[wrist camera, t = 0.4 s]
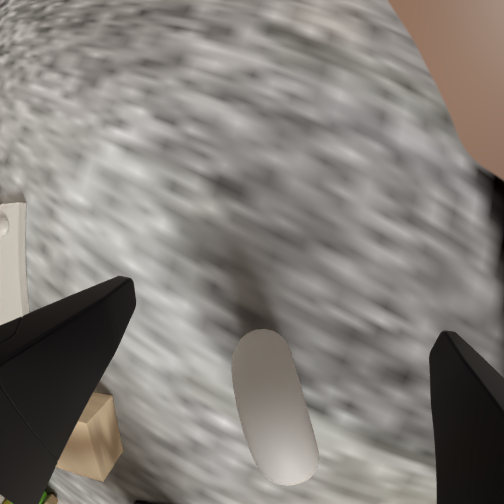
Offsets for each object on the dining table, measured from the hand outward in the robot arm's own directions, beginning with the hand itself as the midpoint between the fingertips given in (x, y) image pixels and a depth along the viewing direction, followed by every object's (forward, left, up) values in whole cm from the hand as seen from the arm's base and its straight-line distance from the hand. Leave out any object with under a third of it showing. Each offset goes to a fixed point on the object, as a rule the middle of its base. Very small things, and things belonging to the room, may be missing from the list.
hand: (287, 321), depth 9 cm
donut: (-8, 0, -14) cm, 16 cm away
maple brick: (-14, +16, -14) cm, 25 cm away
